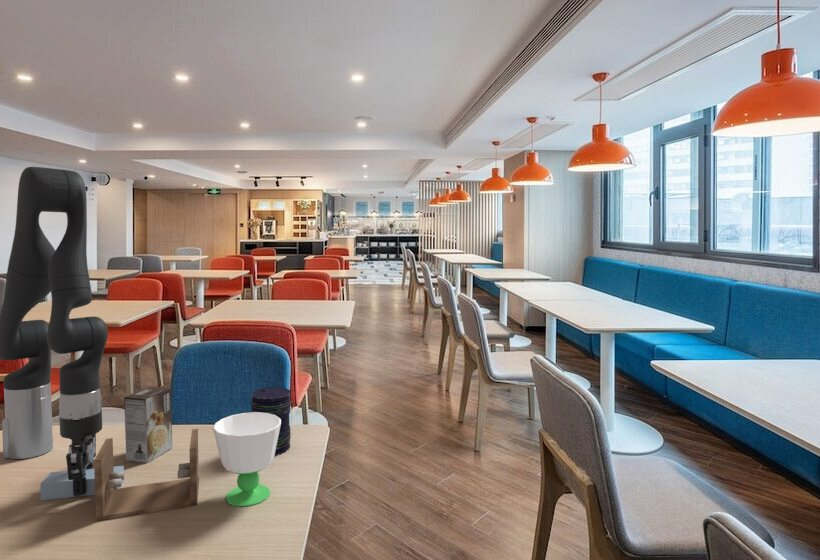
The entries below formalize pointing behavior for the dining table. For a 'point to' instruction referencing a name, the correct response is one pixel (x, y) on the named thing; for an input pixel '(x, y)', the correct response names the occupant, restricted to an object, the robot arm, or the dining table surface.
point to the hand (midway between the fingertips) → (83, 487)
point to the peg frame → (142, 487)
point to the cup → (247, 452)
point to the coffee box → (148, 424)
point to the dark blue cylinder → (275, 411)
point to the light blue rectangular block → (68, 484)
